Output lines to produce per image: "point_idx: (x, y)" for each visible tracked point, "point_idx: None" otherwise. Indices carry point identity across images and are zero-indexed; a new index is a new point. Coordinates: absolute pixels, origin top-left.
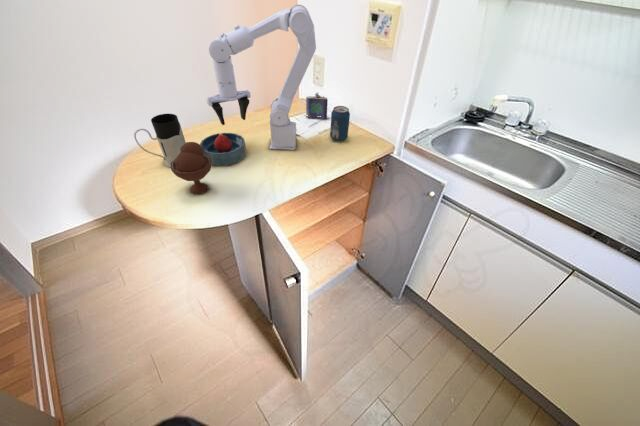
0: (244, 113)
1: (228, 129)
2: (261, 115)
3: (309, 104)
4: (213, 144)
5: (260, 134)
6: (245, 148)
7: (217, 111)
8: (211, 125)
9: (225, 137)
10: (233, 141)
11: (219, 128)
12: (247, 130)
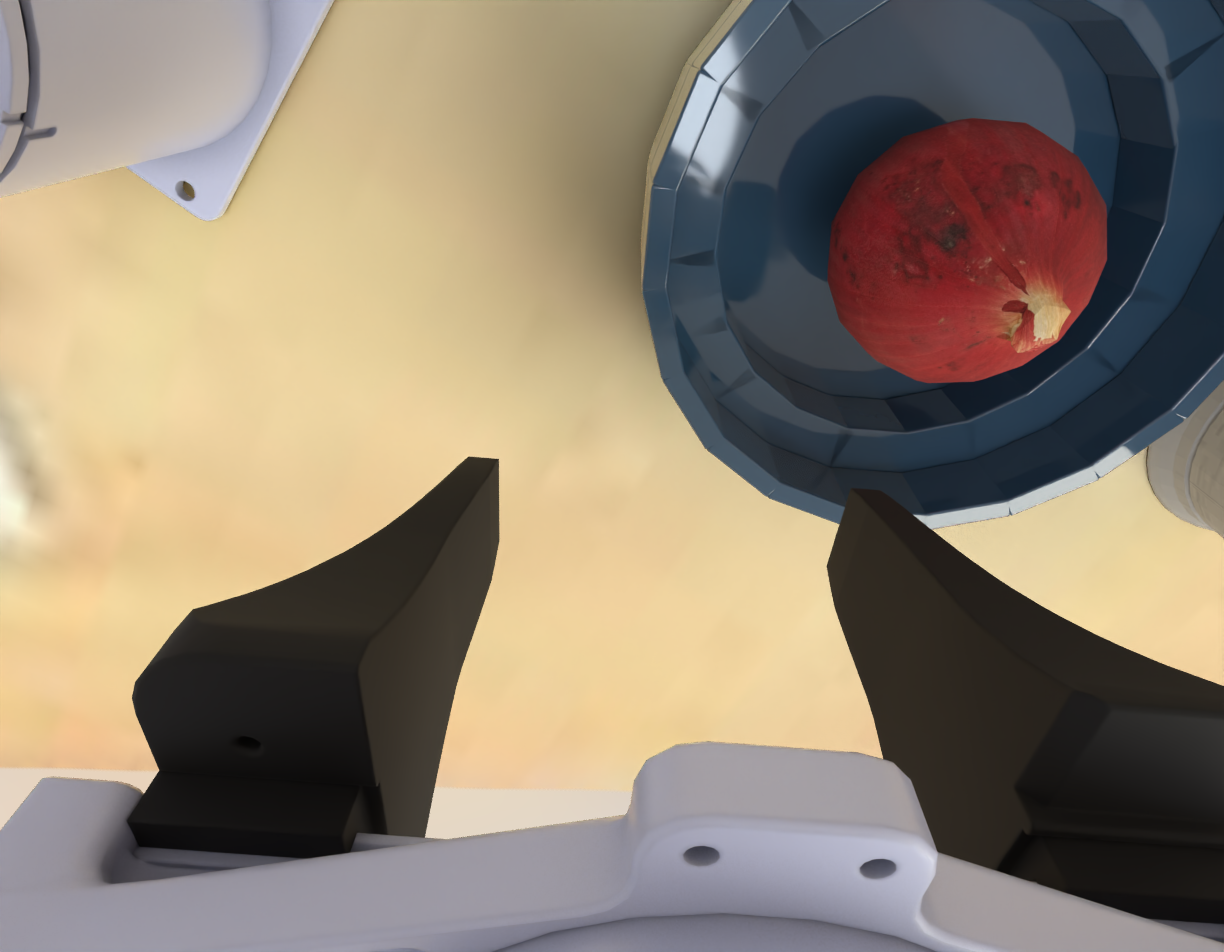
0: (444, 509)
1: (567, 653)
2: None
3: None
4: (940, 420)
5: (320, 410)
6: (711, 37)
7: (1143, 661)
8: None
9: (982, 237)
10: (728, 336)
11: (625, 701)
12: None
